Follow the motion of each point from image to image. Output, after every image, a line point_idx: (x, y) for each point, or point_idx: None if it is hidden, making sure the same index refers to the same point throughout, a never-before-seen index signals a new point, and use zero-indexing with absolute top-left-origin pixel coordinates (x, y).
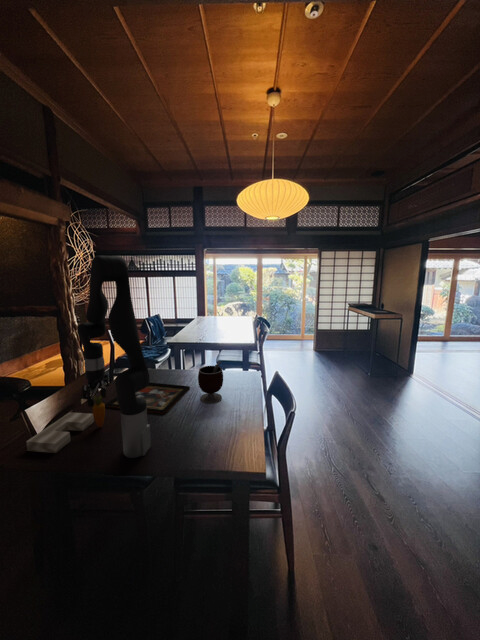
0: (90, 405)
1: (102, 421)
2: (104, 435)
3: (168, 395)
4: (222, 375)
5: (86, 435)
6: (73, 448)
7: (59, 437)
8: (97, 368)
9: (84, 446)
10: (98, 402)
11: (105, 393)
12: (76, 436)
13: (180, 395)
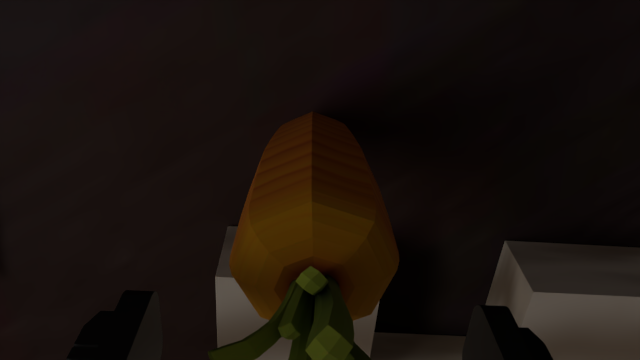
0: (541, 347)
1: (329, 119)
2: (452, 7)
3: None
4: None
5: (438, 170)
6: (612, 166)
7: (603, 315)
8: None
9: (604, 97)
10: (340, 300)
11: (117, 345)
12: (446, 234)
13: None
